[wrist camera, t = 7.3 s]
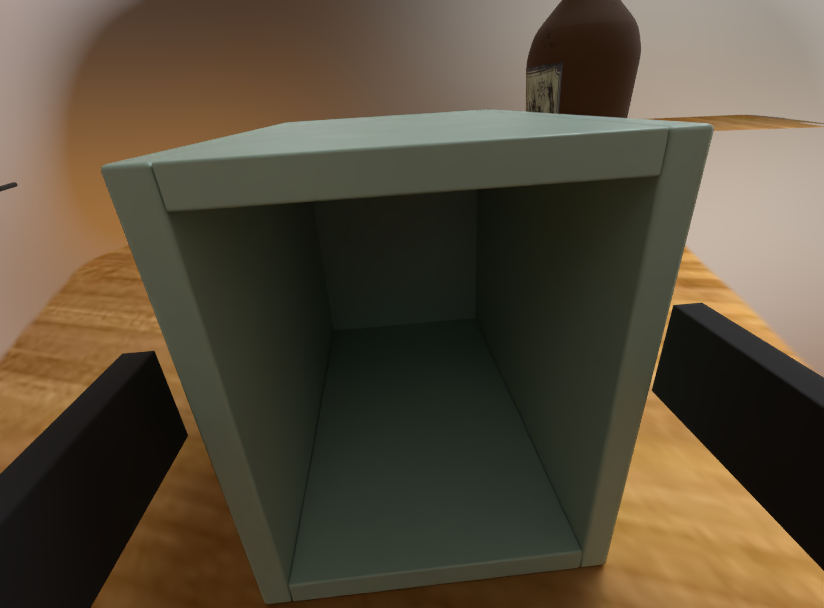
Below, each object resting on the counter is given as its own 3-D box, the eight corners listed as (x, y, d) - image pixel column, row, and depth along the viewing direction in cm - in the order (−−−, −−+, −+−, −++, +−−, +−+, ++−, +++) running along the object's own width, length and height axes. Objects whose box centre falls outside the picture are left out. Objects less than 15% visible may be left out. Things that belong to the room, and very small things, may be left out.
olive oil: (582, 197, 54) (613, -47, 42) (635, 216, 44) (692, -90, 33) (505, 204, 52) (515, -45, 41) (542, 226, 43) (568, -90, 32)
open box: (606, 565, 12) (718, 123, 7) (263, 606, 12) (96, 166, 6) (485, 322, 26) (490, 109, 20) (323, 336, 25) (285, 122, 20)
